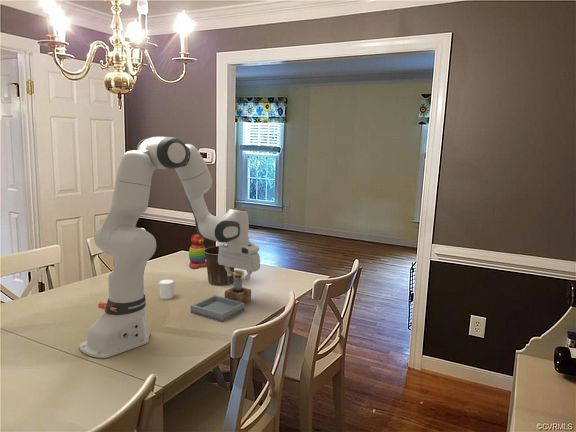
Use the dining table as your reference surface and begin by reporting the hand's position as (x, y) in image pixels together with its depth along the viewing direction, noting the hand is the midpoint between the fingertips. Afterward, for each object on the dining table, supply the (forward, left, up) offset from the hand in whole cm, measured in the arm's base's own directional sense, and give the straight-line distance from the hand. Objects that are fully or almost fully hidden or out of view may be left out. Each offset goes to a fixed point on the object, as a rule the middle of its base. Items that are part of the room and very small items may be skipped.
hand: (238, 277), depth 173 cm
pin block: (0, 0, -11) cm, 11 cm away
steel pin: (0, 0, -11) cm, 11 cm away
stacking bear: (+30, +51, -11) cm, 60 cm away
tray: (-13, 0, -11) cm, 17 cm away
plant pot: (+16, +23, -11) cm, 30 cm away
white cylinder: (-13, +29, -11) cm, 34 cm away
